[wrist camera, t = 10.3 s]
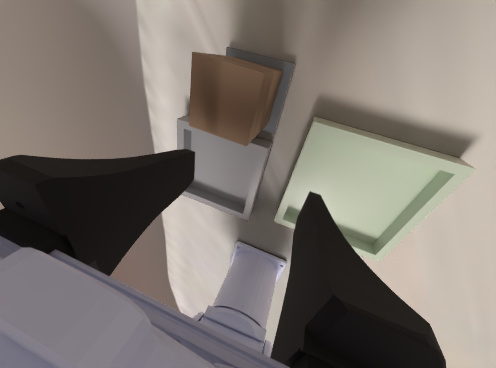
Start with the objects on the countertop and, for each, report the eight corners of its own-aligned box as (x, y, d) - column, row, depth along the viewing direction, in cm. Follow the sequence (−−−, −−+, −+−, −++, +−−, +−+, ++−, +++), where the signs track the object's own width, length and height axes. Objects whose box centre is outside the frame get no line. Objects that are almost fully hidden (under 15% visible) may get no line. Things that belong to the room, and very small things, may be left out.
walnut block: (267, 123, 18) (246, 146, 13) (225, 109, 19) (188, 125, 14) (283, 71, 16) (263, 73, 11) (233, 56, 16) (192, 51, 11)
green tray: (374, 248, 22) (378, 262, 21) (277, 211, 24) (273, 221, 22) (459, 158, 15) (475, 168, 14) (314, 116, 17) (313, 121, 16)
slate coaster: (275, 132, 19) (274, 134, 19) (221, 115, 20) (219, 117, 20) (295, 63, 16) (294, 63, 15) (229, 47, 17) (226, 46, 16)
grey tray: (252, 211, 25) (247, 221, 24) (186, 185, 27) (178, 193, 25) (272, 141, 20) (268, 148, 18) (188, 114, 21) (177, 118, 20)
